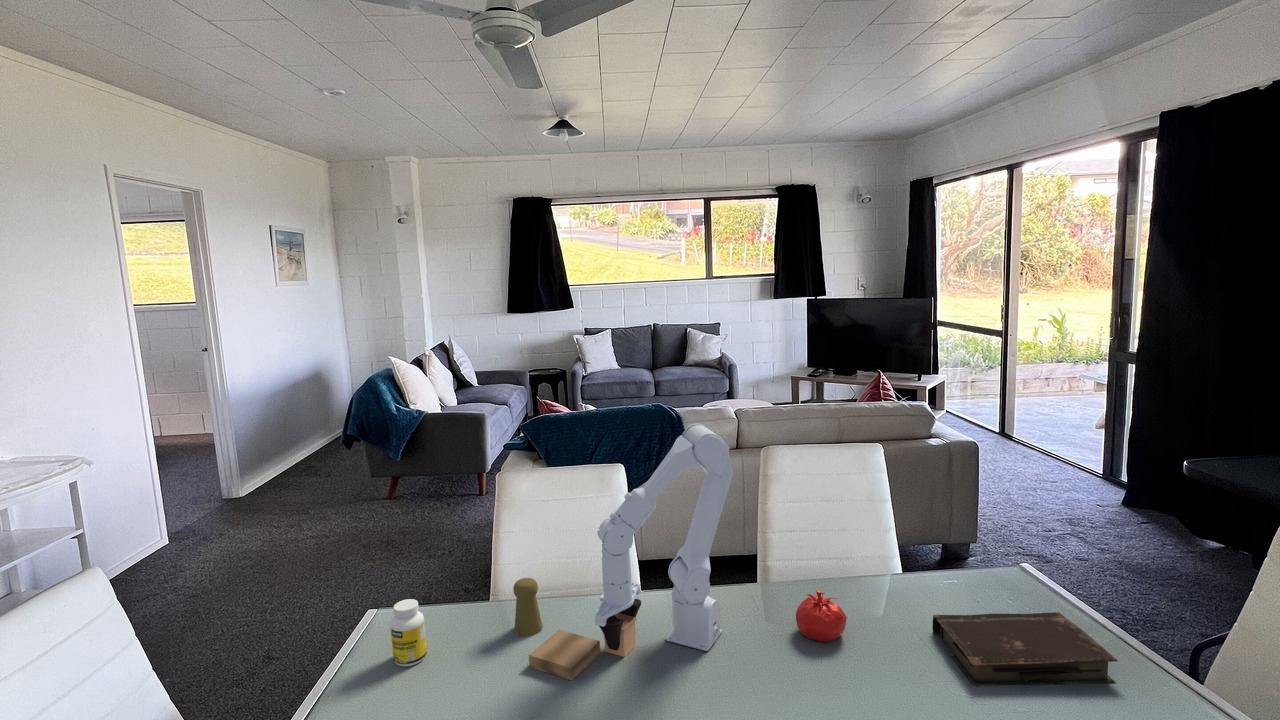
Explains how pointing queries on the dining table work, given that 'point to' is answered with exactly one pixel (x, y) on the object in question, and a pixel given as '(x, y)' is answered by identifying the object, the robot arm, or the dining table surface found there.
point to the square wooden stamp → (625, 636)
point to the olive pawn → (527, 608)
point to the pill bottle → (408, 633)
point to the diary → (1023, 649)
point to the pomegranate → (820, 618)
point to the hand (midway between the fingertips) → (620, 641)
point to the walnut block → (564, 654)
